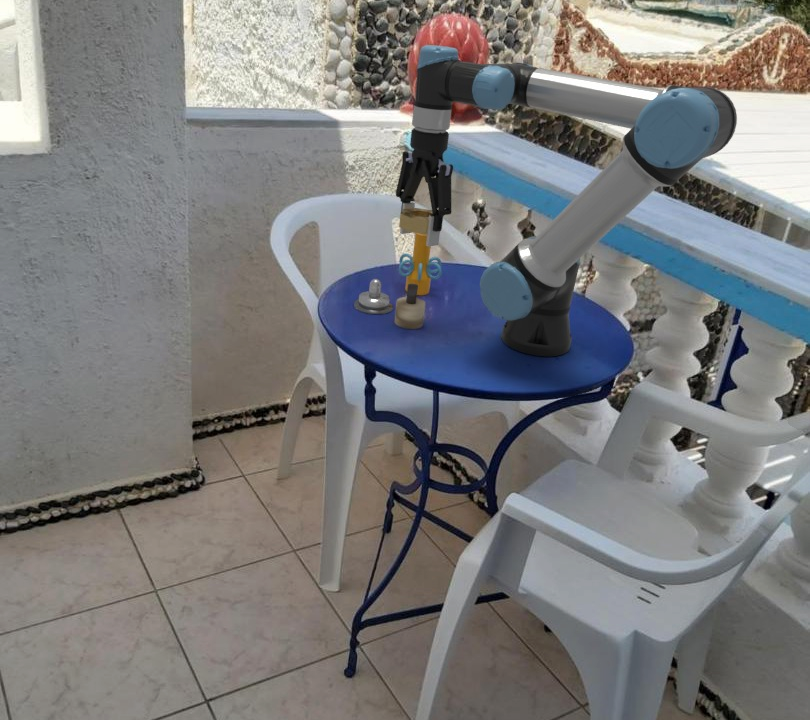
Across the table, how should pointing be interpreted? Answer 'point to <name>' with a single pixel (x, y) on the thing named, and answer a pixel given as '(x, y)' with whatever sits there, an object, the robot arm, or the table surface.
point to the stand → (410, 309)
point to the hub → (373, 300)
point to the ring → (415, 220)
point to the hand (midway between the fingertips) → (418, 238)
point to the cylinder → (420, 265)
